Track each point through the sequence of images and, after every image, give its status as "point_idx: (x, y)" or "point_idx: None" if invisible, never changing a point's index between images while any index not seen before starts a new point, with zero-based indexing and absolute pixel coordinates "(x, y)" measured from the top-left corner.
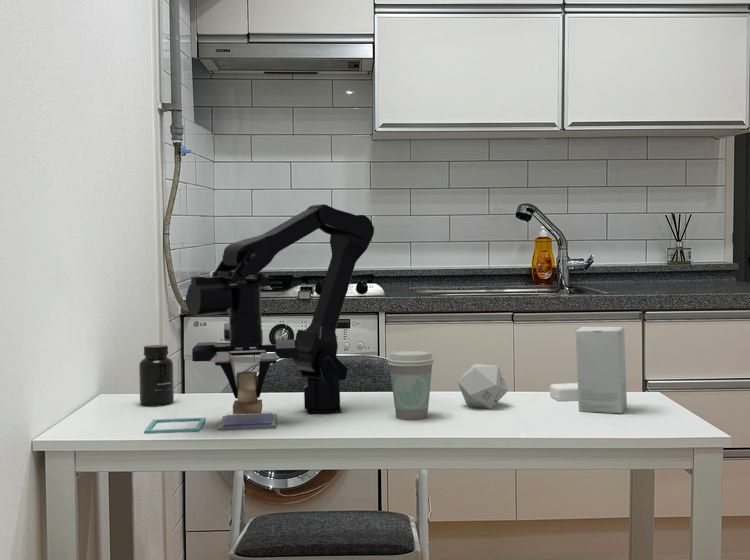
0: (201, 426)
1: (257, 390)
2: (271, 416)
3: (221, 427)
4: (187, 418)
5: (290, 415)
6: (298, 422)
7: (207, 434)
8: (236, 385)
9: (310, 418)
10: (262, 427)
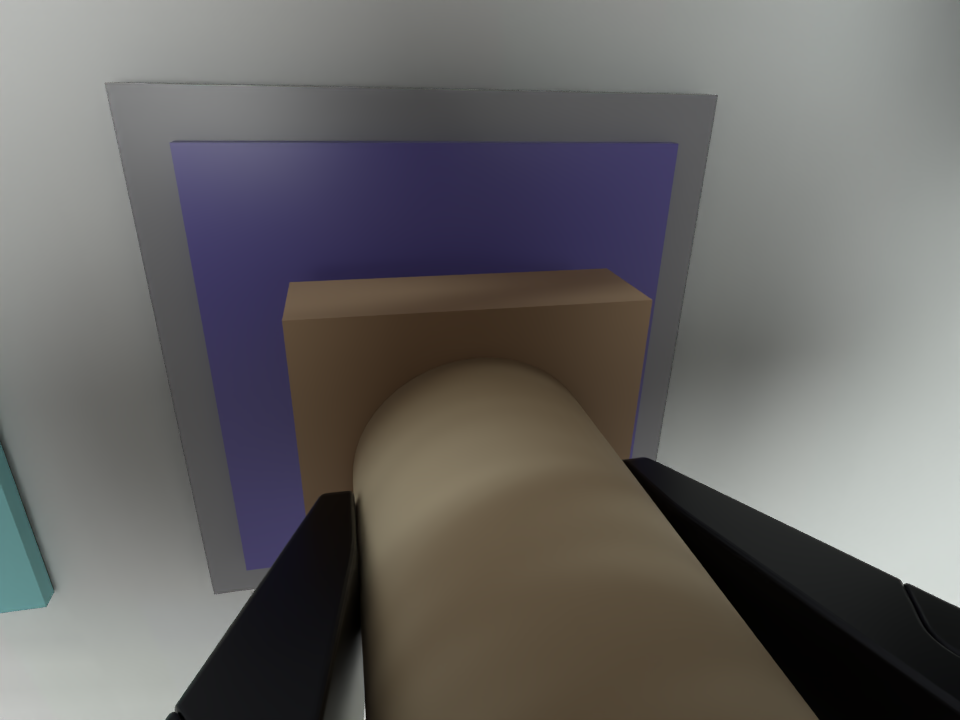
0: (14, 507)
1: None
2: (651, 298)
3: (241, 589)
4: None
5: (827, 61)
6: (810, 362)
7: (161, 666)
8: (354, 696)
9: (928, 234)
10: None
